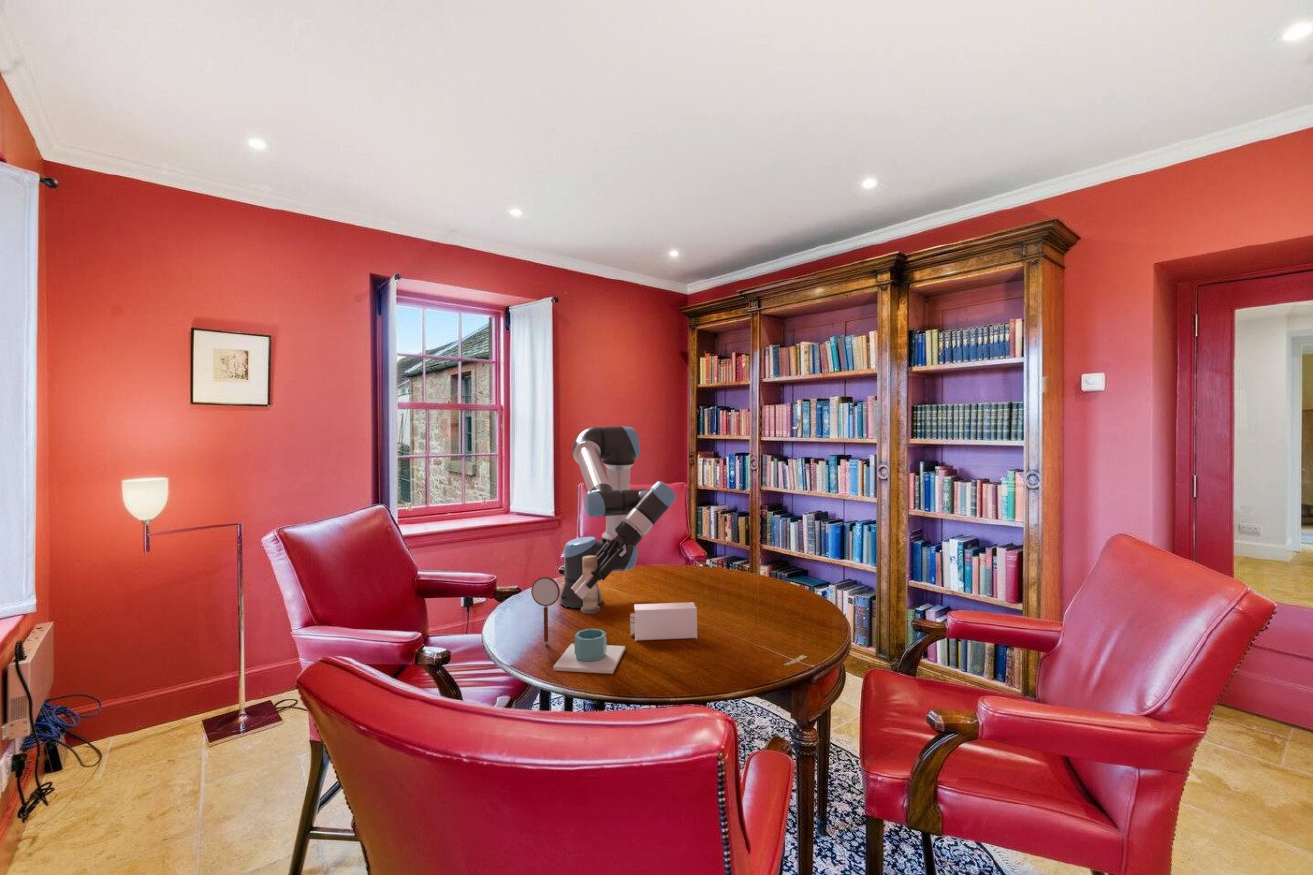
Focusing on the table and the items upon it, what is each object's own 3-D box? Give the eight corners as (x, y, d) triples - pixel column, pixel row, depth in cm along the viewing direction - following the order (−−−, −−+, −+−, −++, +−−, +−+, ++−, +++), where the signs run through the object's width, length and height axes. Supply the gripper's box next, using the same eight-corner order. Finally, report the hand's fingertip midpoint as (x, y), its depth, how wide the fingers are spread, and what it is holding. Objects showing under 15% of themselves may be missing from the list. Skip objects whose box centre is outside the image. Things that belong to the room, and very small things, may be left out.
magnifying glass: (531, 644, 163) (530, 577, 163) (533, 642, 165) (532, 575, 165) (559, 646, 162) (558, 577, 162) (561, 643, 164) (560, 576, 164)
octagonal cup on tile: (571, 646, 162) (571, 622, 161) (625, 649, 159) (624, 625, 159) (553, 670, 146) (552, 643, 146) (612, 673, 143) (612, 646, 143)
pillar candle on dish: (583, 606, 155) (583, 554, 155) (601, 607, 154) (601, 555, 154) (578, 612, 150) (577, 559, 150) (597, 613, 149) (596, 559, 149)
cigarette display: (694, 632, 173) (694, 602, 173) (697, 638, 167) (696, 607, 167) (630, 634, 171) (629, 604, 171) (630, 641, 166) (630, 610, 165)
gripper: (653, 542, 150) (594, 611, 144) (632, 532, 165) (578, 594, 160) (634, 524, 148) (573, 593, 142) (615, 515, 164) (560, 577, 158)
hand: (576, 593), depth 151 cm, fingers closed on pillar candle on dish, 4 cm apart
